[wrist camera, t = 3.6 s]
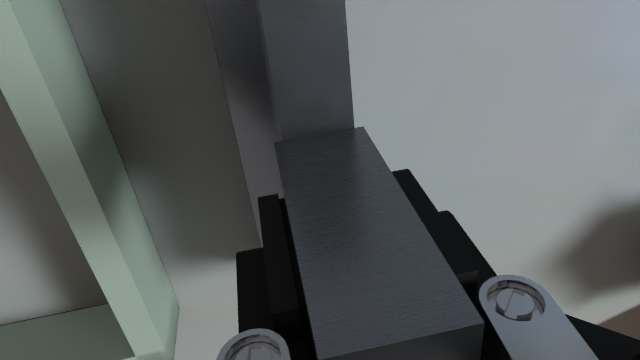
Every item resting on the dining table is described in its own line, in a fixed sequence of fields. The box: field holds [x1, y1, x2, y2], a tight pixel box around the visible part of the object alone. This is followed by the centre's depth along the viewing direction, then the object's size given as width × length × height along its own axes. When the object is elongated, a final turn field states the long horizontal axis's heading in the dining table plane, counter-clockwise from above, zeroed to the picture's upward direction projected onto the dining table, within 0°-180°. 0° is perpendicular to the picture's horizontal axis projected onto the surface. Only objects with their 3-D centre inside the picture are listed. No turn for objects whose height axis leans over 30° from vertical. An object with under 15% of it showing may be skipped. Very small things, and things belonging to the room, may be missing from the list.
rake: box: [204, 0, 485, 360], centre depth 13 cm, size 4×14×13 cm, turn 6°
